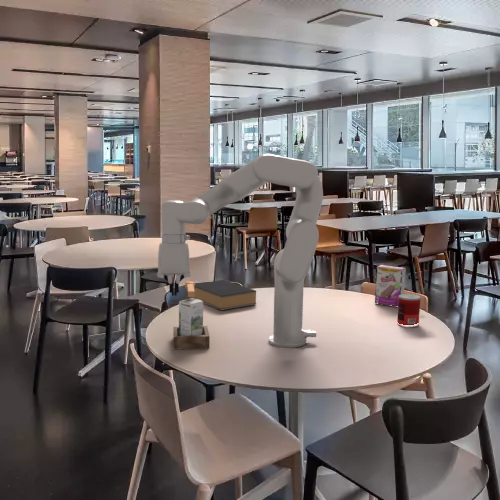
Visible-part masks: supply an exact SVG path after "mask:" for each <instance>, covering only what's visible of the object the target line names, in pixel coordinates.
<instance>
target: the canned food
mask: <svg viewBox="0 0 500 500" xmlns="http://www.w3.org/2000/svg"><path fill="white" fill-rule="evenodd" d="M420 309H421V296H420V295H418V294H413V293H404V294H401V295H399V299H398V307H397V318H396V320H397V321H396V323H397V322H398V323H399V324H403V325H414V324H417V323H420V314H421V313H420V312H421V310H420ZM398 323H397V324H398Z"/></svg>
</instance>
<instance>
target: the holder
mask: <svg viewBox="0 0 500 500" xmlns="http://www.w3.org/2000/svg"><path fill="white" fill-rule="evenodd" d="M185 293H186V299H190V298H194V297H188V291H187V289H186V291H185ZM186 299H185V300H186ZM172 329H173V330H172V332H173V335H172V336H173V350H195V349H198V350H199V349H210V344H211V343H210V337H211V336H210V332H209V328H208V325H203V335H196V336H179V326H173V328H172Z"/></svg>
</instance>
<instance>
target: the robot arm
mask: <svg viewBox="0 0 500 500" xmlns="http://www.w3.org/2000/svg"><path fill="white" fill-rule="evenodd" d="M268 183H269V184H273V185H274V184H275V185H278V186H287V187H291V188H295V191H296V193H295V194H296V197H295V200H294V206H293V209H292V211H291V215H290V218H289V221H288V223H287V226H286V228H285V236H286V241H285V245H284V248H283V249H281V250H279V252H278V253H277V254H276V255H275V258H274V261H273V262H274V263H273V274H274V275H273V276H274V292H273V293H274V295H273V334H272V335H270V336H269V337H268V342H269V344H270V345H272V346H274V347H279V348H288V349H289V348H290V349H291V348H292V349H293V348H301V347H303V346H304V345H306V344H307V338H317V332H316V330H315V331H314V330H312V331H311V329H304V327H303V315H304V314H303V312H304V311H303V310H304V308H303V307H304V279H305V278H306V277H307V275H308V273H309V270H310V268H311V265H312V263H313V259H314V256H315V253H316V249H317V247H318V245H319V238H320V234H319V233H320V231H319V229H318V227H317V222H318V220H319V216H320V212H321V209H322V206H323V205H322V204H323V200H324V199H323V198H324V190H323V185H322V182H321V178H320V177H319V170H318V169H317V166H316V165H315V163H312V162H310V161H308V160H304V159H297V158H291V157H284V156H281V155H275V154H272V153H264V154H263V153H262V154H260V155H259V156H256V157H255V158H254V159H252V160H251V161H249V162H248V163H246V164H245V165H243V166H241V167H240V168H238V169H237V170H235V171H234V172H232V173H230V174H229V175H227V176H226V177H224V178H223V179H222V180H220V181H219V182H218V183H216V184H215V185H214V186H212V187H211V188H209V189H208V190H206V191H204V192H202V194H200V195H198V196H197V197H194V198H193V199H192V200H191V201H182V200H177V199H171V200H170V199H169V200H164V201H162V203H161V207H160V208H161V242H160V243H159V244H158V245H159V246H158V251H157V252H158V255H157V274H156V275H157V278H160V279H164V280H165V281H166V282H167V283H168V284H169V293H171V296H173V297H174V296H175V297H177V296H178V293H179V292H180V291H179V290H180V285H179V284H180V283H181V282H182V281H183V280H184V279H186V278H190V277H191V275H192V274H191V272H190V271H191V269H190V267H191V264H190V260H191V259H190V249H189V248H190V247H189V243H188V242H186V241H188V240H191V235H188V234H186V224H188V225H189V224H190V225H202V224H204V223H205V222H206V221H207V220H208V218H209V217H210V216H212V215H213V214H214V213H216V212H218V211H220V210H221V209H223V208H224V207H226V206H227V205H230V204H233V203H235V202H238V201H240V200H243V199H245V198H246V197H247V196H249V195H250V194H252V193H253V192H254V191H257V190H258V189H260V188H262V187H263V186H264V185H266V184H268ZM172 275H175V280H173V278H172Z"/></svg>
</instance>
